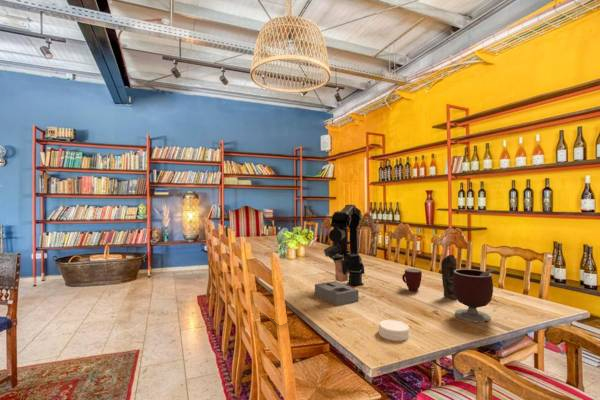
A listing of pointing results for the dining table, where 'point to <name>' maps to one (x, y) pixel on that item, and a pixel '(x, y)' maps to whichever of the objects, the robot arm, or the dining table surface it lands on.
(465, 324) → the dining table surface
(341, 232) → the robot arm
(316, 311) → the dining table surface
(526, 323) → the dining table surface
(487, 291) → the mate gourd
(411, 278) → the mug
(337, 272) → the peg
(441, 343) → the dining table surface
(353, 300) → the socket board
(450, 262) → the statue
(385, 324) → the coaster
